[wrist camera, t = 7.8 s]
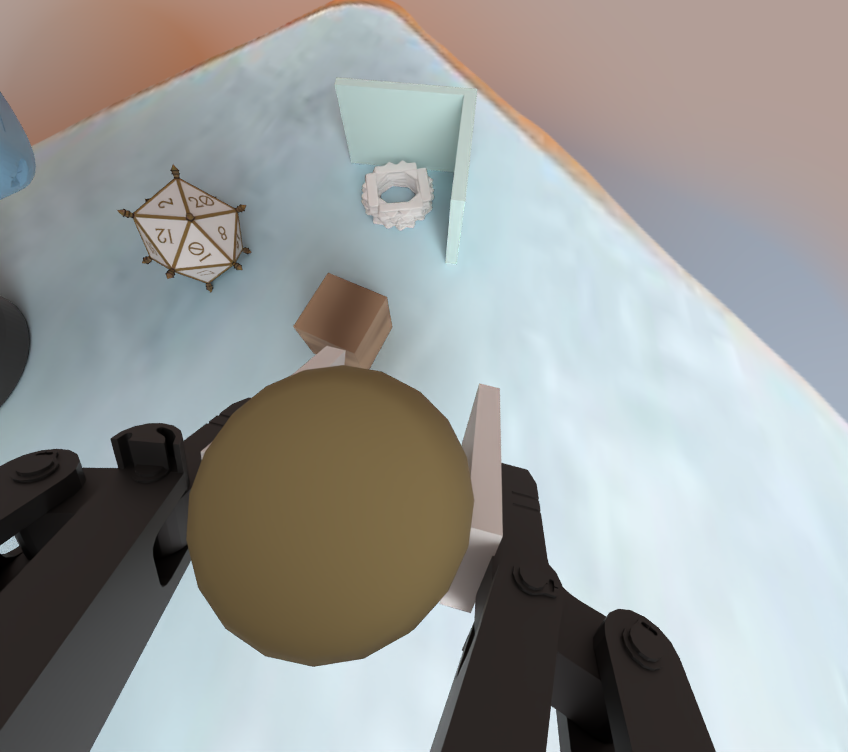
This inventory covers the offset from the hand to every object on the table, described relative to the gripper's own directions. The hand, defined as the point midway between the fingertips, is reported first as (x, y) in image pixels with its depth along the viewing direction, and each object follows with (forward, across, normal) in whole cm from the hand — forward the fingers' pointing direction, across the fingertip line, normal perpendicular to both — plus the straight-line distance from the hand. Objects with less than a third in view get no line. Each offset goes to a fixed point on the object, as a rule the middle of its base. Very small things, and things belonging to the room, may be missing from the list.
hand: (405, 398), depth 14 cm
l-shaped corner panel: (+27, -7, +5) cm, 28 cm away
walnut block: (+16, -8, -5) cm, 18 cm away
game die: (+19, -22, -2) cm, 29 cm away
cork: (0, 0, -5) cm, 5 cm away
